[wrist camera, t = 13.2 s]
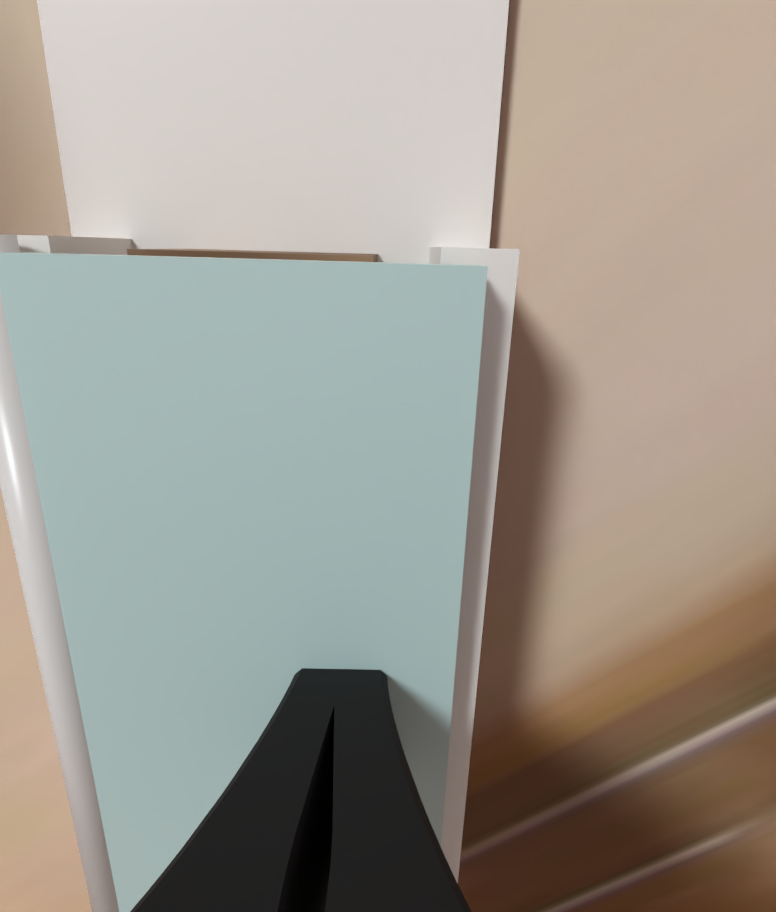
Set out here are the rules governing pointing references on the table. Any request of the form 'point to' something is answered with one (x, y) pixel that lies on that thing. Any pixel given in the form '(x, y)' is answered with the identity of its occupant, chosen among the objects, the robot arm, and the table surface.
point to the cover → (230, 514)
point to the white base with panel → (301, 175)
